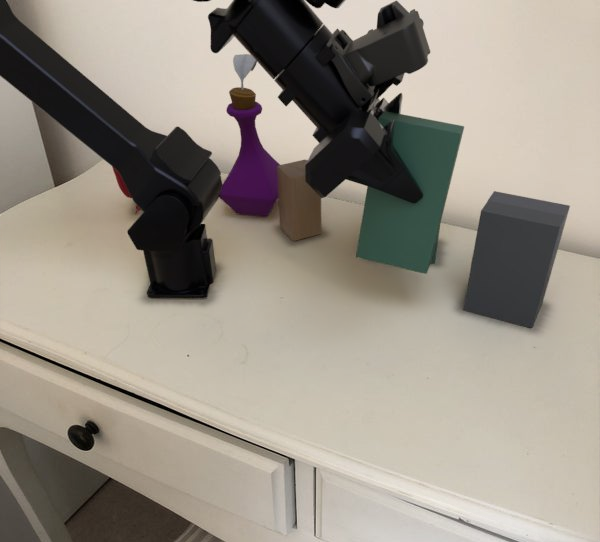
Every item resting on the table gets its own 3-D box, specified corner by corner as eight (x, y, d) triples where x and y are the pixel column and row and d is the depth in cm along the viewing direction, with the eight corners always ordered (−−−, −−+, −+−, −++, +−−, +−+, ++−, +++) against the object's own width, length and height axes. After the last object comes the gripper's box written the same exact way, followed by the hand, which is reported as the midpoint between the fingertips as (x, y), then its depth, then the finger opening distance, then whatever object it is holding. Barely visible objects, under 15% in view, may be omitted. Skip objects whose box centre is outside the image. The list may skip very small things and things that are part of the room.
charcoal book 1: (462, 310, 66) (480, 210, 58) (469, 299, 67) (487, 200, 59) (531, 328, 63) (560, 226, 56) (537, 316, 64) (565, 215, 57)
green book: (355, 257, 62) (378, 117, 54) (361, 248, 64) (384, 110, 56) (426, 274, 61) (461, 133, 53) (430, 264, 63) (464, 126, 54)
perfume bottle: (276, 224, 80) (267, 67, 67) (219, 218, 81) (200, 64, 69) (291, 197, 85) (286, 47, 72) (238, 192, 86) (223, 44, 74)
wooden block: (307, 220, 80) (306, 157, 75) (322, 234, 78) (322, 170, 72) (278, 228, 79) (275, 164, 73) (292, 242, 76) (290, 177, 71)
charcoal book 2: (468, 299, 67) (487, 200, 59) (475, 288, 68) (494, 190, 61) (536, 316, 64) (565, 215, 57) (541, 305, 66) (570, 205, 58)
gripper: (352, 0, 41) (498, 181, 46) (388, -52, 54) (498, 94, 59) (242, 120, 47) (381, 265, 53) (298, 48, 60) (404, 171, 66)
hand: (420, 192), depth 58 cm, fingers closed on green book, 2 cm apart
